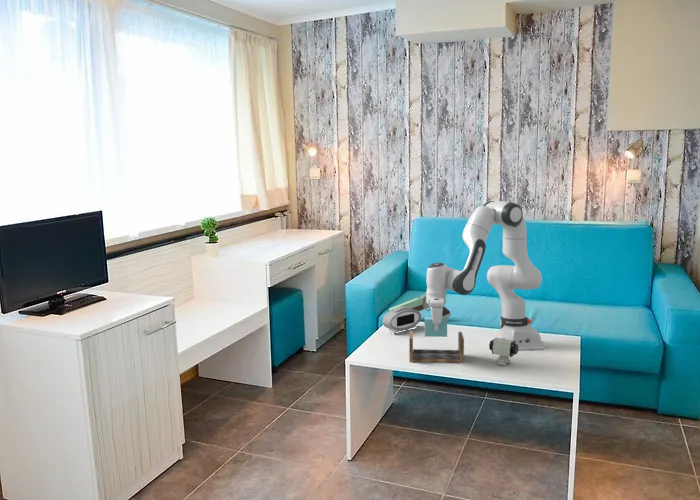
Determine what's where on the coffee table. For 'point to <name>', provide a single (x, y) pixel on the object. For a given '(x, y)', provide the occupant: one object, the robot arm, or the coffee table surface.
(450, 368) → the coffee table surface
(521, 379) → the coffee table surface
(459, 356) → the cabinet base
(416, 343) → the coffee table surface
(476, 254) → the robot arm
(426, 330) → the door panel
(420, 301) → the ray gun
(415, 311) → the alarm clock
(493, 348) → the pneumatic valve
